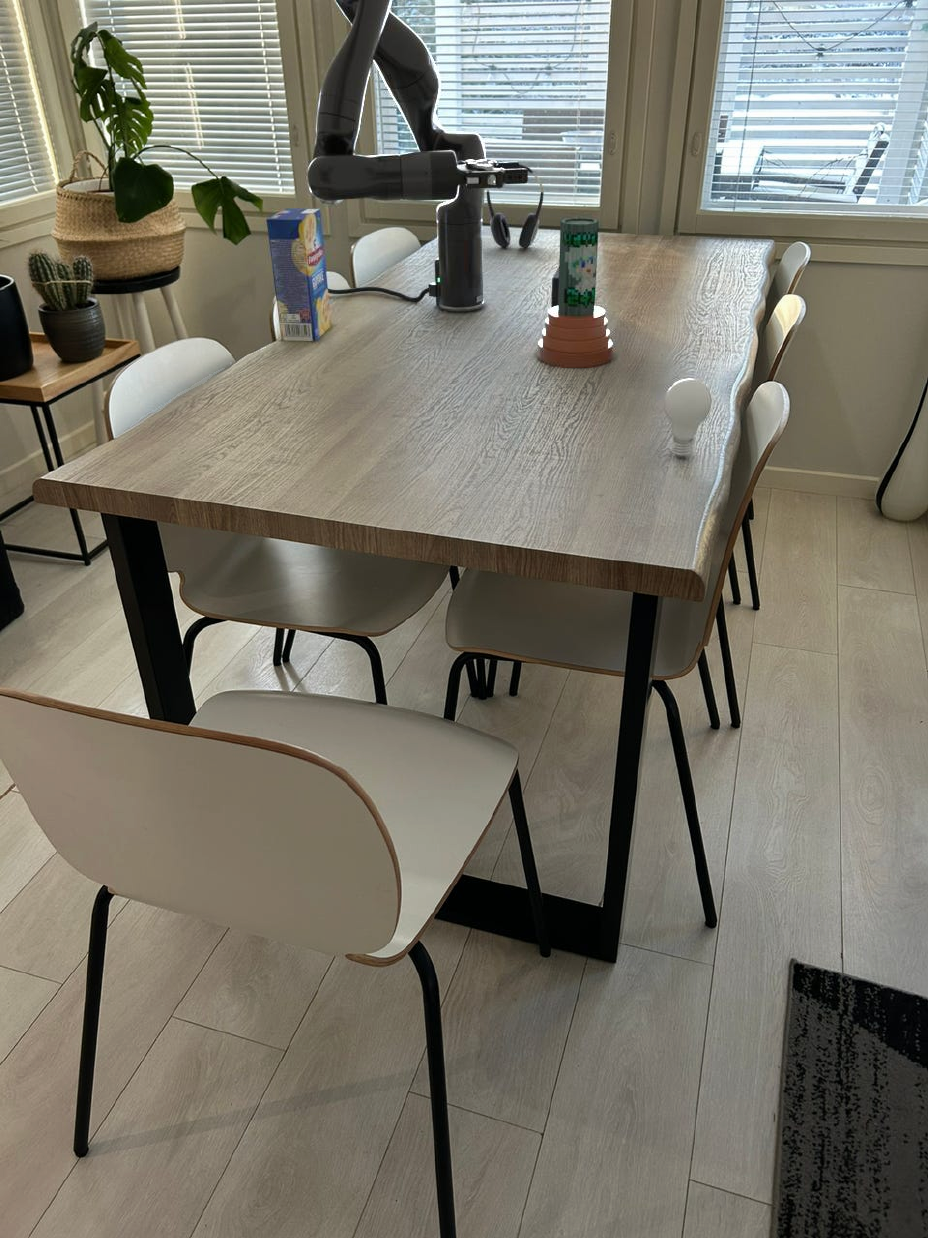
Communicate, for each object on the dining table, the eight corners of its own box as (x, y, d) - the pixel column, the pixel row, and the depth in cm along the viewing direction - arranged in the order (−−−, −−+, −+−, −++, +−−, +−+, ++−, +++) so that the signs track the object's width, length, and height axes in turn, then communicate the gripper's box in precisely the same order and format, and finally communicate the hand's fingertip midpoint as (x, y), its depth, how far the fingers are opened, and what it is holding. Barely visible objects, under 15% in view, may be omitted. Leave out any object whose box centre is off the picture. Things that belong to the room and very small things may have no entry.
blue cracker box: (331, 325, 196) (320, 208, 184) (315, 341, 186) (302, 219, 175) (299, 324, 197) (285, 208, 185) (281, 340, 188) (266, 219, 176)
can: (570, 317, 167) (574, 225, 159) (552, 309, 172) (554, 219, 164) (600, 312, 170) (605, 221, 162) (581, 305, 174) (584, 216, 166)
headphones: (539, 251, 249) (541, 166, 238) (483, 249, 252) (482, 165, 241) (545, 244, 256) (546, 161, 245) (490, 243, 259) (489, 160, 248)
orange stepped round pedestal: (523, 359, 174) (524, 314, 170) (564, 341, 183) (565, 297, 179) (586, 372, 167) (588, 325, 163) (625, 353, 176) (628, 308, 172)
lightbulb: (653, 448, 138) (660, 373, 132) (697, 446, 139) (706, 371, 133) (665, 466, 133) (673, 388, 127) (710, 464, 133) (720, 386, 127)
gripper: (430, 156, 154) (531, 152, 156) (423, 145, 166) (516, 142, 168) (432, 207, 158) (530, 202, 160) (425, 193, 170) (516, 189, 172)
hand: (523, 171), depth 164 cm, fingers open, 8 cm apart
